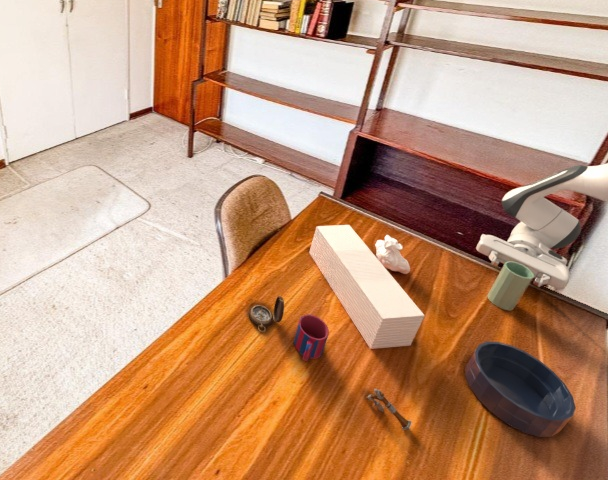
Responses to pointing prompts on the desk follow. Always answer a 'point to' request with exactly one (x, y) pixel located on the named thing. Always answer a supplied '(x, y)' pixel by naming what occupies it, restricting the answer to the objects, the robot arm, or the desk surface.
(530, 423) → the wash bowl
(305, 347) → the mug
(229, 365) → the desk surface
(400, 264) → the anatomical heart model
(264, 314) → the compass
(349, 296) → the stack of papers
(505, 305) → the green cup
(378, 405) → the brown grey jointed rod
